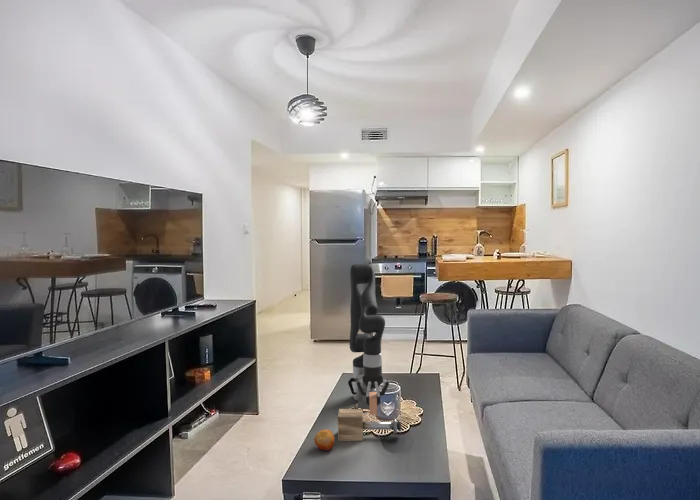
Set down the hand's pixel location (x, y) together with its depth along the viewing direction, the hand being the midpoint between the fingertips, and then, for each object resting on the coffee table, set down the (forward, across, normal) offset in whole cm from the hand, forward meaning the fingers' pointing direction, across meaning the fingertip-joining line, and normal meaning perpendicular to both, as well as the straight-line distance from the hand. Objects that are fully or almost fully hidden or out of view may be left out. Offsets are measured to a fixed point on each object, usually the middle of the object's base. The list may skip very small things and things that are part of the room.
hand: (373, 404), depth 178 cm
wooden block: (+15, +10, -4) cm, 19 cm away
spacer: (+3, 0, 0) cm, 3 cm away
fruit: (+16, +20, +6) cm, 26 cm away
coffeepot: (+16, +5, -32) cm, 36 cm away
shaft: (+14, -2, -4) cm, 14 cm away
